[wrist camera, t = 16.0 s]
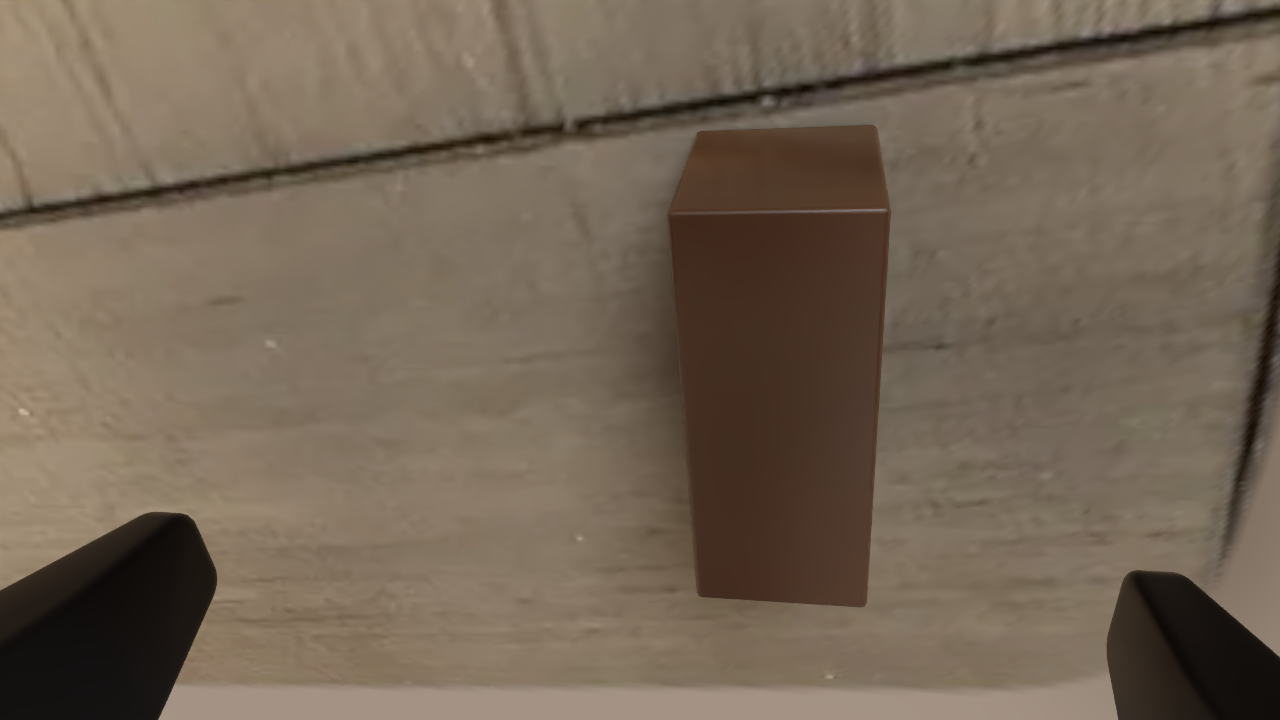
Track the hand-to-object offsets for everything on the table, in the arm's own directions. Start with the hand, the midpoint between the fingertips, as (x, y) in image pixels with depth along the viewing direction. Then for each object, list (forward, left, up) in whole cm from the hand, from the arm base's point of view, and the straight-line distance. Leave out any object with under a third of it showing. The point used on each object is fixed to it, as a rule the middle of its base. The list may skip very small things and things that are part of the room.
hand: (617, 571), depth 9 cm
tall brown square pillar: (+1, -2, -4) cm, 4 cm away
